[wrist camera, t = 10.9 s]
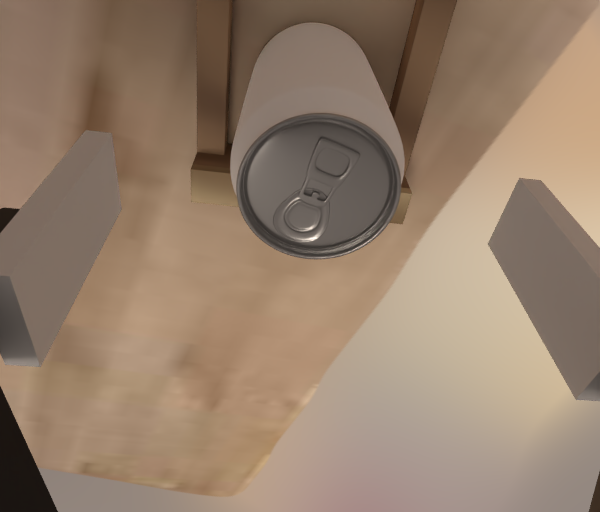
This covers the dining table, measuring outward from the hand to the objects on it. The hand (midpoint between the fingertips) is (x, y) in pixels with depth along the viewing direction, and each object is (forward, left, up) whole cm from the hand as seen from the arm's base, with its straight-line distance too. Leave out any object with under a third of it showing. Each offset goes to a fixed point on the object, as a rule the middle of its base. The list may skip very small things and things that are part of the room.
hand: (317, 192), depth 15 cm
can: (0, 0, -13) cm, 13 cm away
